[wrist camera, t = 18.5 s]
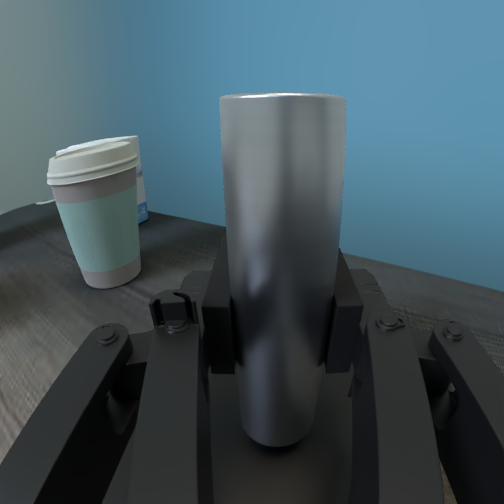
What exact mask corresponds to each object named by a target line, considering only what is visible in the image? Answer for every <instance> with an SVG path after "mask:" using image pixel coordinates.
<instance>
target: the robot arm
mask: <svg viewBox="0 0 504 504" xmlns="http://www.w3.org/2000/svg"><path fill="white" fill-rule="evenodd" d="M149 307H150V311H151V315H152V319H153V323H154V330H152V331H149V332H144V333H138V334H132V335H129V333H128V330H127V329H126V328H125V327H124V326H123V325H120V324H105V325H102V326H100V327H98V328H96V329H94V330H93V331H92V332H91V333H90V334H89V335H88V337H87V338H86V339H85V341H84V342H83V343H82V345H81V346H80V347H79V349H78V350H77V351H76V353H75V354H74V355H73V357H72V358H71V359H70V361H69V362H68V364H67V365H66V366H65V368H64V369H63V370H62V372H61V373H60V375H59V376H58V377H57V379H56V380H55V382H54V383H53V385H52V386H51V387H50V389H49V390H48V392H47V393H46V395H45V396H44V398H43V399H42V400H41V402H40V403H39V405H38V406H37V408H36V409H35V411H34V412H33V414H32V415H31V417H30V418H29V420H28V422H27V423H26V425H25V426H24V428H23V429H22V431H21V432H20V434H19V436H18V437H17V439H16V440H15V442H14V444H13V445H12V447H11V448H10V450H9V452H8V453H7V455H6V457H5V458H4V460H3V462H2V463H1V465H0V504H102V502H103V500H104V497H105V495H106V493H107V490H108V488H109V486H110V483H111V481H112V479H113V476H114V474H115V472H116V469H117V467H118V465H119V462H120V460H121V458H122V456H123V453H124V451H125V449H126V447H127V444H128V442H129V440H130V438H131V435H132V433H133V431H134V429H135V426H136V430H135V437H134V444H133V452H132V459H131V468H130V476H129V485H128V495H127V504H214V496H213V478H212V456H211V428H210V385H209V379H208V371H209V366H210V368H211V374H231V375H235V368H236V351H235V339H234V326H233V314H232V301H231V291H230V277H229V263H228V249H227V233H226V227H225V230H224V234H223V237H222V240H221V243H220V246H219V249H218V253H217V256H216V259H215V262H214V266H213V269H212V271H192V272H191V273H190V274H188V275H187V276H186V277H185V278H184V280H183V282H182V285H181V287H180V289H173V290H167V291H164V292H161V293H159V294H157V295H155V296H154V297H153V298H152V299H151V300H150V302H149ZM351 362H352V364H353V368H354V375H353V378H352V382H351V385H350V389H349V393H348V397H351V395H352V473H351V495H350V504H444V493H443V484H442V476H441V468H440V461H441V463H442V466H443V468H444V471H445V473H446V476H447V478H448V481H449V483H450V486H451V488H452V491H453V493H454V496H455V498H456V501H457V504H504V376H503V374H502V373H501V371H500V370H499V369H498V367H497V366H496V365H495V363H494V362H493V360H492V359H491V358H490V356H489V355H488V354H487V352H486V351H485V350H484V348H483V347H482V346H481V344H480V343H479V342H478V341H477V339H476V338H475V337H474V335H473V334H472V333H471V332H470V330H469V329H468V328H467V327H466V326H465V325H463V324H461V323H459V322H457V321H454V320H441V321H439V322H437V323H436V324H435V325H434V328H433V331H425V330H419V329H414V328H410V327H409V324H408V322H407V320H406V319H405V318H404V317H403V316H401V315H400V314H398V313H395V312H393V311H392V310H391V308H390V306H389V304H388V302H387V300H386V298H385V296H384V294H383V292H381V289H380V287H379V285H378V283H377V281H376V279H375V277H374V276H373V275H372V274H371V273H370V272H368V271H367V270H366V269H348V266H347V264H346V262H345V259H344V257H343V255H342V252H341V250H340V248H339V250H338V260H337V270H336V279H335V287H334V295H333V303H332V311H331V318H330V325H329V332H328V339H327V346H326V352H325V358H324V363H325V369H326V374H330V373H347V372H349V370H350V366H351ZM451 382H452V384H453V386H454V387H455V390H454V389H453V388H452V386H451ZM439 459H440V461H439Z"/></svg>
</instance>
